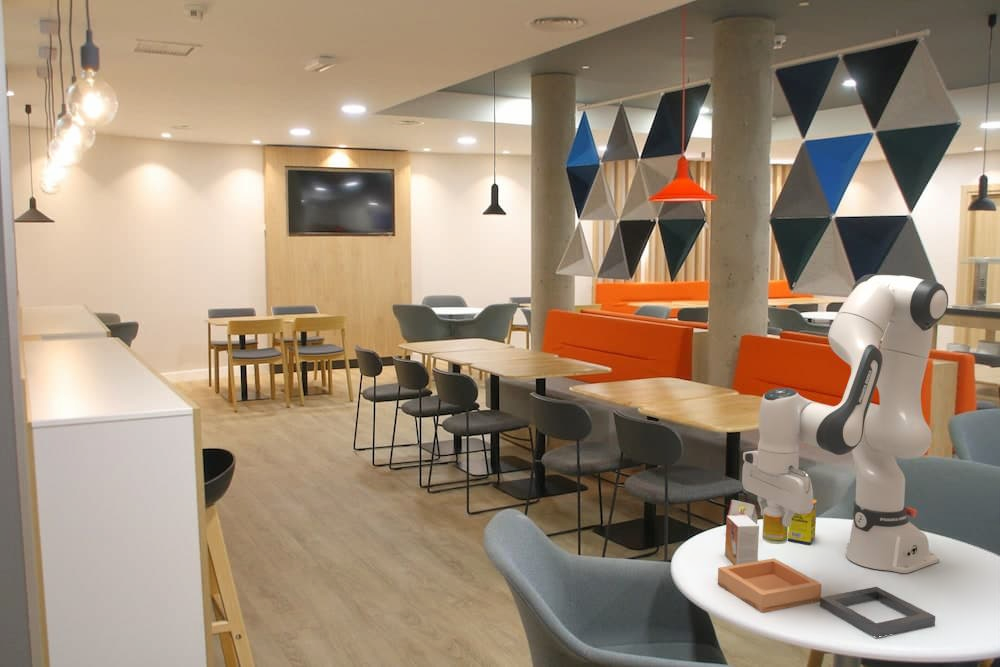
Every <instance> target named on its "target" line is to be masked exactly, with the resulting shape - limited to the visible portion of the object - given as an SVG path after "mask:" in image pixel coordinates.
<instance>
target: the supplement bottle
mask: <svg viewBox="0 0 1000 667" xmlns="http://www.w3.org/2000/svg"><path fill="white" fill-rule="evenodd" d="M767 505H768V506H766V507H765V508H764V511H763V516H762V538H761V539H762V540H763V542H764V541H765V542H766V543H768V544H772V545H782V544H786V543H787V541H788V529H789V527H785V526H783V525H781V524H780V522H781V520H780V519H781V517H784V515H785V513H786V512H784V507H782V506H780V505H778V504H775V503H774V502H773V501H772V500H769V499H767Z"/></svg>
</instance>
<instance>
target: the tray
mask: <svg viewBox="0 0 1000 667" xmlns="http://www.w3.org/2000/svg"><path fill="white" fill-rule="evenodd" d="M717 568H718V569H717V586H718V585H719V586H720V587H722V588H723V589H725V590H726V591H728V592H729V593H731V594H732V595H734V596H736V597H737V598H739V599H740V600H742V601H743V602H745V603H746V604H748V605H750V606H751V607H752V608H754V609H756V610H757V611H759V612H760V613H766V612H772V611H776V610H782V609H785V608H786V609H787V608H792V607H797V606H801V605H807V604H813V603H818V602H820V597H822V583H820V582H819V581H817V580H815V579H813V578H812V577H809V576H808V575H807V574H804V573H802V572H800V571H799V570H797V569H795V568H793V567H791V566H789V565H787V564H786V563H784V562H782V561H780V560H779V559H776V558H775V557H774V558H768V559H762V560H758V561H755V562H749V563H743V564H737V565H734V564H733V565H732V564H731V565H727V566H720V567H717Z"/></svg>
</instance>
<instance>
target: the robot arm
mask: <svg viewBox="0 0 1000 667" xmlns="http://www.w3.org/2000/svg"><path fill="white" fill-rule="evenodd" d="M948 306H949V295H948V292H947V290H946V288H945V286H944V285H943V284H941V283H939V282H937V281H934V280H931V279H928V278H927V279H922V278H919V277H914V276H908V275H903V274H902V275H895V274H893V275H891V274H881V273H880V274H879V273H873V274H872V273H871V274H870V273H869V274H865V275H863V276H861V277H860V278H859V279H858V280H857V281H856V282H855V283H854V285H853V286H852V289H851V292H850V294H849V295H848V296H847V297H846V299H845V301H844V302H843V304H842V305H841V307H840V308H839V310H838V312H837V313H836V316H835V317H834V320H833V321H832V322H831V325H830V327H829V330H828V335H827V338H828V343H829V346H830V348H831V350H832V351H833V352H834V353H835V355H836V356H838V358H839V359H841V360H842V361H844V362H845V363H847V365H849V367H850V371H851V372H850V376H849V379H848V382H847V385H846V387H845V390H844V393H843V396H842V399H841V401H840V402H839V403H838V404H837V405H835V406H834V405H829V404H824V403H820V402H817V401H813V400H811V399H808V398H805V397H803V396H801V395H800V394H799V393H798V391H797V390H796V389H793V388H788V387H787V388H786V387H781V388H779V387H778V388H773V389H770V390H768V391H766V392H765V393H763V395H762V398H761V402H760V405H759V412H758V413H759V414H758V426H757V427H758V431H759V441H758V444H757V449H756V450H752V451H751V450H750V451H749V450H748V451H744V452H743V454H742V459H743V460H742V461H744V463H743V465H742V473H741V474H742V475H741V476H742V479H741V483H742V486H743V489H744V490H745V491H747V492H749V493H751V494H754V495H756V496H757V503H758V506H759V508H760V516H762V517H763V511H764V508H765V507H766V506H768V505H767V499H769V500H772V501H773V502H774V503H775V504H778V505H780V506H782V507H784V512H786V513H785V515H784V517H781V519H780V520H781V522H780V524H781V525H783V526H785V527H788V528H789V526H791V519H792V517H793V516H794V514H795V513H798V514H806V513H810V512H811V511H812V510H813V499H814V491H813V485H812V484H813V483H812V480H811V477H810V476H809V475H808V472H807V471H805V470H802V469H799V461H800V446H799V444H800V443H804V444H807V445H809V446H814V447H816V448H821V449H823V450H824V451H827V452H829V453H831V454H833V455H836V456H842V455H846V454H848V453H850V452H851V454H852V459H853V461H854V462H853V463H854V467H855V476H856V478H855V479H856V480H855V500H854V502H853V505H852V517H853V520H852V523H851V529H850V531H851V532H850V537H849V542H848V543H847V546H846V552H845V557H846V558H847V559H848V560H849V561H850V562H852V563H854V564H856V565H859V566H862V567H864V568H869V569H873V570H880V571H890V572H895V573H899V574H908V573H912V572H914V571H917V570H920V569H922V568H923V569H924V568H925V567H928V566H930V565H933V564H937V563H939V562H940V558H939V556H938V555H937V554H936V553H934V552H932V551H931V550H929V549H930V547H929V546H930V544H929V539H928V537H927V535H926V534H925V533H924V532H922V531H921V530H920V529H919V528H918V527H916V525H914V524H913V523H911V521H910V520H909V519H910V518H909V516H911V517H912V518H914V517H916V516H917V515H918V510H917V509H916V508H912V507H911V506H907V507H905V493H906V492H905V490H906V477H905V475H904V472H903V471H902V470H901V468H900V467H899V465H898V463H897V460H896V458H897V459H906V460H907V459H909V460H914V459H915V460H916V459H919V458H921V457H922V456H924V455H925V454H926V453H927V452H928V450H929V448H930V446H931V444H932V438H933V437H932V431H931V428H930V426H929V425H928V423H927V422H926V419H925V417H924V414H923V409H922V399H921V398H922V394H921V393H922V387H923V381H924V377H925V372H926V369H927V365H928V361H929V357H930V352H931V347H932V341H933V335H934V334H933V332H934V326H935V325H936V324H937V323H939V321H940V320H942V319H943V317H944V315H945V314H946V312H947V309H948ZM876 388H877V390H878V391H877V392H878V396H879V404H876V403H874V402H873V403H872V402H871V401H872V398H873V396H874V393H875V390H876Z"/></svg>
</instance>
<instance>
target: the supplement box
mask: <svg viewBox="0 0 1000 667" xmlns="http://www.w3.org/2000/svg"><path fill="white" fill-rule="evenodd" d="M817 502H818V500H817V499H814V498H813V510H812V511H811V512H810V513H806V514H798V513H795V514H794V516H793V517H792V519H791V526H789V527H788V535H787V541H788V542H792V543H797V544H801V545H809V546H810V545H811V544H812V542H813V541H814V540H815V539H816V527H817V526H816V523H817V504H818V503H817Z"/></svg>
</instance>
